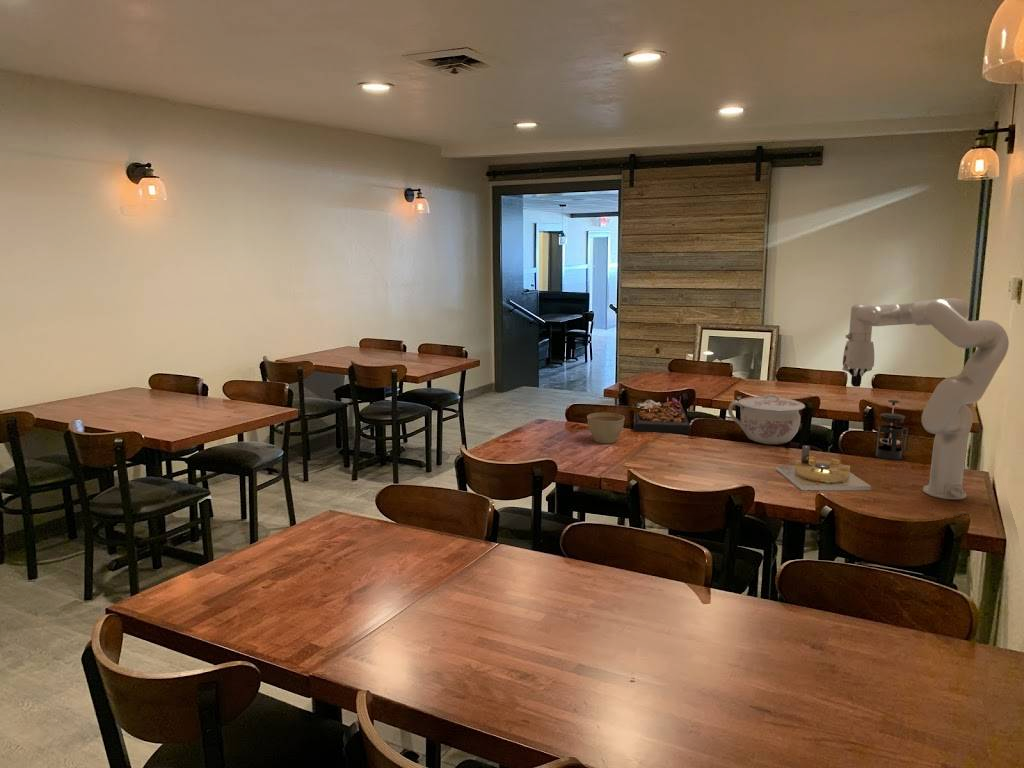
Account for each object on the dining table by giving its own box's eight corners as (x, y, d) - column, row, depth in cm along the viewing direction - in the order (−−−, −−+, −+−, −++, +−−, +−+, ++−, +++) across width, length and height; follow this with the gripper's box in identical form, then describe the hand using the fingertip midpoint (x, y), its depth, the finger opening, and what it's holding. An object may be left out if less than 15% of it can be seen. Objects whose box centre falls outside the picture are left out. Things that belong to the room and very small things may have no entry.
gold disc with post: (849, 471, 264) (851, 447, 262) (849, 485, 248) (851, 460, 246) (796, 464, 271) (798, 441, 270) (793, 478, 255) (795, 454, 254)
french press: (878, 459, 285) (883, 402, 281) (870, 452, 294) (875, 397, 290) (909, 460, 283) (915, 403, 279) (900, 453, 292) (906, 398, 288)
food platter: (632, 411, 372) (633, 392, 370) (681, 413, 368) (682, 393, 367) (634, 433, 328) (635, 411, 326) (689, 435, 325) (690, 412, 323)
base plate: (870, 490, 248) (871, 485, 248) (801, 490, 248) (801, 485, 248) (839, 469, 272) (839, 464, 271) (776, 469, 271) (776, 465, 271)
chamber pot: (816, 445, 305) (820, 397, 301) (765, 452, 295) (768, 402, 291) (770, 430, 331) (773, 386, 327) (721, 436, 321) (724, 390, 317)
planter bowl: (583, 444, 307) (583, 419, 305) (590, 435, 322) (591, 411, 320) (621, 447, 303) (621, 422, 301) (626, 437, 318) (627, 413, 316)
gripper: (845, 339, 263) (841, 388, 267) (885, 338, 264) (880, 387, 267) (835, 336, 271) (831, 384, 274) (874, 336, 271) (869, 384, 275)
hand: (855, 386), depth 271 cm, fingers closed
